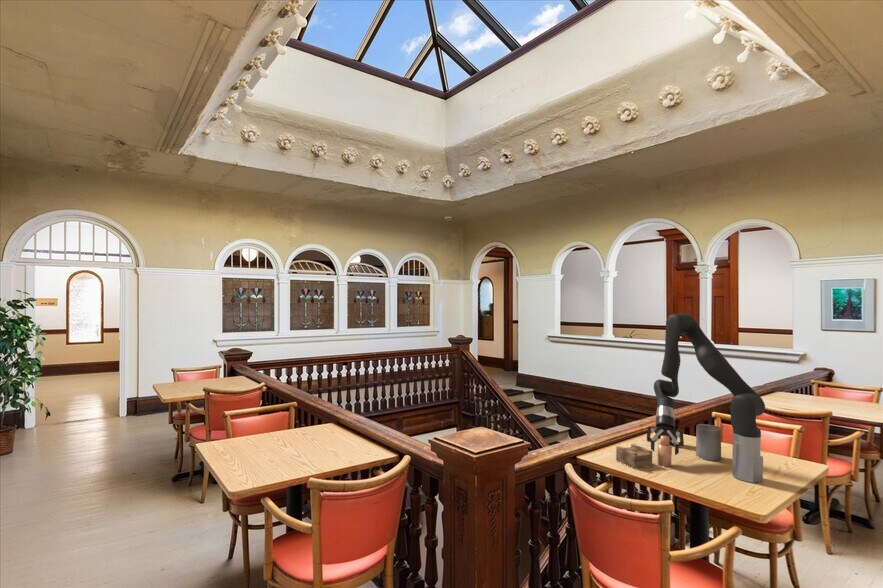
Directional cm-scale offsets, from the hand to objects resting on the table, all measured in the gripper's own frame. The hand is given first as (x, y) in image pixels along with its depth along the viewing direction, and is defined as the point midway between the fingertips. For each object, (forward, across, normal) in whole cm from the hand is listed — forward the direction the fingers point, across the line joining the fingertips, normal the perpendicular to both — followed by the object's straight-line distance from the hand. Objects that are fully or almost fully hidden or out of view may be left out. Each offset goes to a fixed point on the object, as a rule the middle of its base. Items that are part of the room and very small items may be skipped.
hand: (664, 452), depth 193 cm
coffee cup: (-20, +2, +29) cm, 35 cm away
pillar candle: (-11, +17, +20) cm, 29 cm away
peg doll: (+3, 0, +5) cm, 6 cm away
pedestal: (+6, -12, +2) cm, 13 cm away
